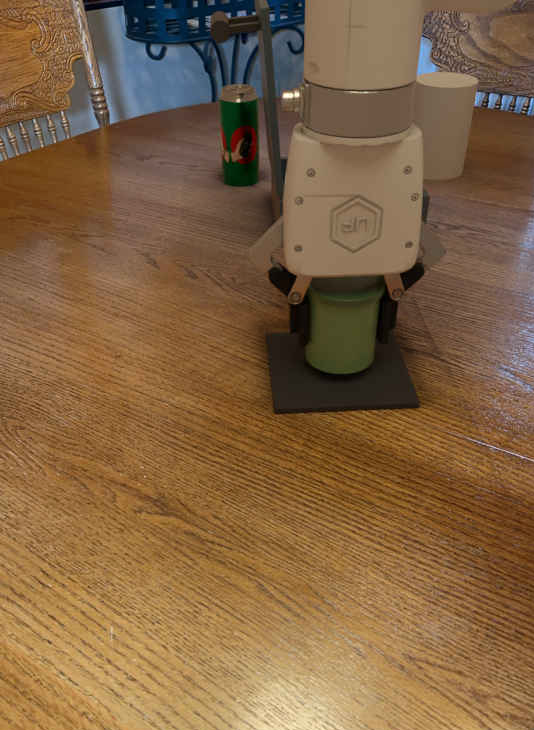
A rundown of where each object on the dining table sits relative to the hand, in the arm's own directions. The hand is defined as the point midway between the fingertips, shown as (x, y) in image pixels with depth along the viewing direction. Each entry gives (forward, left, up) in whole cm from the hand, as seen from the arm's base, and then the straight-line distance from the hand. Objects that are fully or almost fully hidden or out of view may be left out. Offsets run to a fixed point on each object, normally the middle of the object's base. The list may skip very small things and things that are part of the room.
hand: (340, 335), depth 60 cm
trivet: (0, 0, -3) cm, 3 cm away
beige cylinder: (-20, -48, -4) cm, 52 cm away
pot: (0, 0, -2) cm, 2 cm away
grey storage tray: (-5, -32, -3) cm, 32 cm away
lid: (+4, -32, +12) cm, 34 cm away
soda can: (+7, -46, -4) cm, 47 cm away
